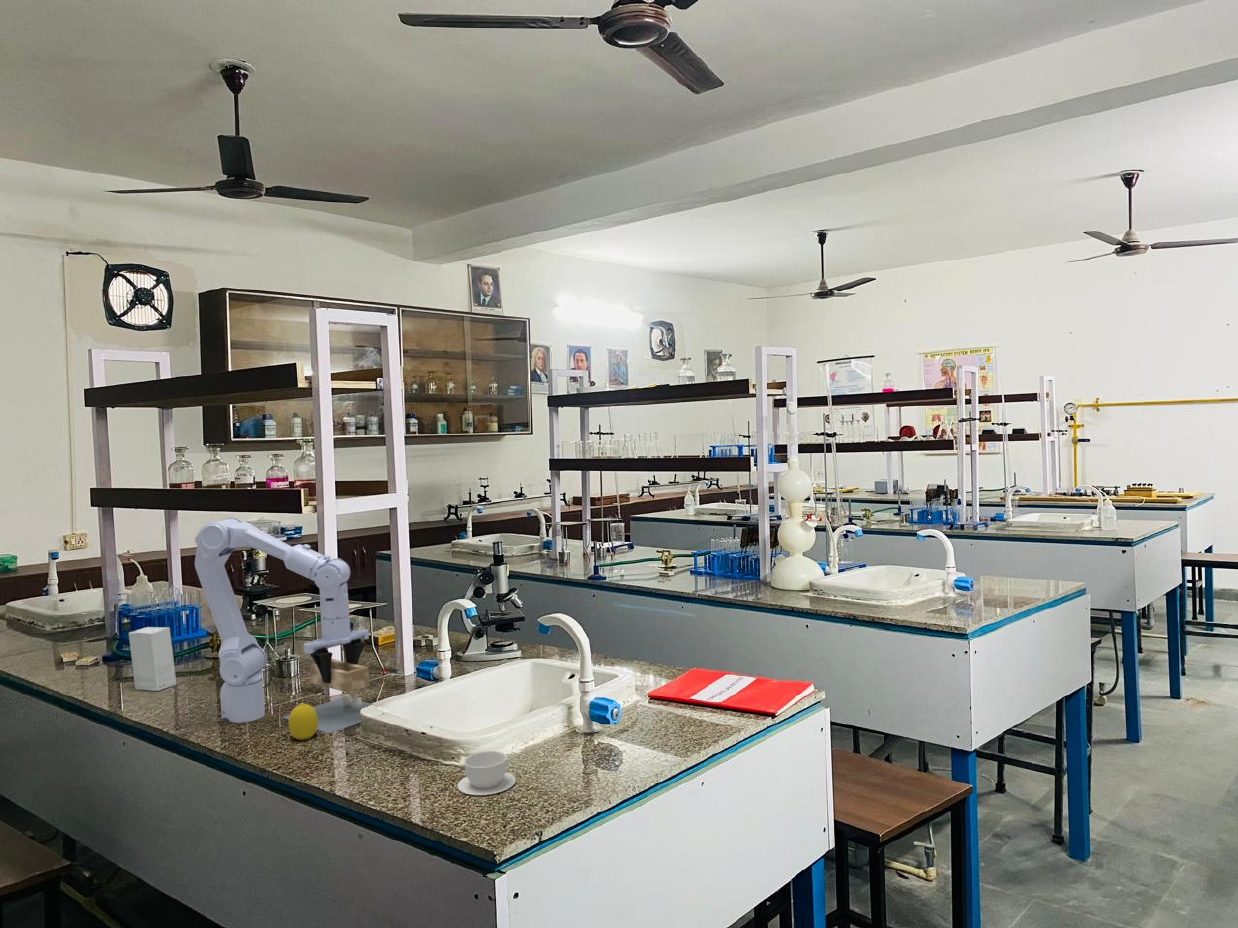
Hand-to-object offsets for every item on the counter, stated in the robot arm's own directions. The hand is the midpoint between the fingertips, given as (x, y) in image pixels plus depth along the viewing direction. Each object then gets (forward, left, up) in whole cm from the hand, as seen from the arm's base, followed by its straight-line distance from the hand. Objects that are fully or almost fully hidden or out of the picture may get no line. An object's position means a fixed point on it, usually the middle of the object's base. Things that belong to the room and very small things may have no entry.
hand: (339, 678), depth 187 cm
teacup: (+53, -6, -9) cm, 54 cm away
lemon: (+6, -13, -9) cm, 16 cm away
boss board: (-1, -1, -9) cm, 9 cm away
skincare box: (-63, -13, -9) cm, 65 cm away
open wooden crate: (0, 0, -1) cm, 1 cm away
